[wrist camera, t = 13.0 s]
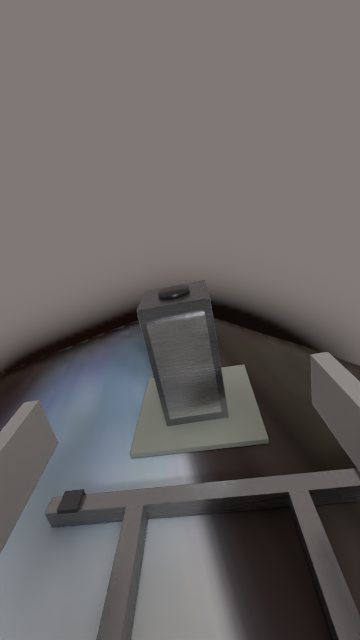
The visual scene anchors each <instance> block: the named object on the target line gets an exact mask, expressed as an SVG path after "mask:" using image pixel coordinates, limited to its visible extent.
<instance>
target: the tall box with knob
mask: <svg viewBox="0 0 360 640" xmlns="http://www.w3.org/2000/svg"><path fill="white" fill-rule="evenodd" d="M137 314H138V318H139V322H140V326H141V330H142V333H143V337H144V341H145V345H146V349H147V353H148V356H149V360H150V364H151V368H152V372H153V375H154V379H155V383H156V387H157V391H158V395H159V398H160V402H161V406H162V410H163V414H164V418H165V421H166V425H167V426H174V425H180V424H187V423H194V422H201V421H208V420H215V419H222V418H229V415H228V408H227V402H226V396H225V389H224V383H223V377H222V371H221V364H220V358H219V352H218V345H217V339H216V333H215V327H214V320H213V314H212V308H211V301H210V296H209V293H208V290H207V287H206V283H205V281H204V280H203V281H198V282H193V283H188V284H182V285H176V286H171V287H165V288H160V289H154V290H149V291H146V292H145V294H144V296H143V298H142V300H141V302H140V305H139V307H138V309H137Z"/></svg>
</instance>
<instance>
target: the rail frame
mask: <svg viewBox="0 0 360 640" xmlns="http://www.w3.org/2000/svg"><path fill="white" fill-rule="evenodd" d="M354 467H355V468H353V469H343V470H332V471H322V472H312V473H301V474H291V475H280V476H270V477H260V478H249V479H239V480H229V481H218V482H208V483H198V484H187V485H177V486H167V487H156V488H146V489H136V490H125V491H115V492H104V493H94V494H85V492H84V489H83V490H73V491H65V493H64V495H63V497H53V498H52V500H51V502H50V504H49V506H48V508H47V510H46V512H45V516H46V517H47V519H48V521H49V523H50V525H51V527H60V526H72V525H84V524H96V523H108V522H120V521H123V524H122V528H121V532H120V537H119V541H118V546H117V550H116V555H115V559H114V563H113V568H112V572H111V577H110V581H109V586H108V590H107V595H106V599H105V603H104V608H103V612H102V617H101V621H100V626H99V630H98V635H97V639H96V640H131V634H132V627H133V621H134V614H135V607H136V600H137V593H138V586H139V579H140V572H141V565H142V559H143V552H144V545H145V538H146V531H147V524H148V519H155V518H167V517H179V516H191V515H203V514H215V513H227V512H238V511H250V510H262V509H274V508H286V507H290V509H291V513H292V516H293V519H294V522H295V525H296V528H297V531H298V534H299V537H300V540H301V543H302V546H303V549H304V553H305V556H306V559H307V562H308V565H309V568H310V571H311V574H312V577H313V580H314V583H315V586H316V589H317V592H318V596H319V599H320V602H321V605H322V608H323V611H324V614H325V617H326V620H327V623H328V626H329V629H330V632H331V636H332V639H333V640H360V616H359V613H358V611H357V608H356V606H355V603H354V601H353V599H352V596H351V594H350V591H349V589H348V586H347V584H346V581H345V579H344V577H343V574H342V572H341V569H340V567H339V564H338V562H337V560H336V557H335V555H334V552H333V550H332V547H331V545H330V542H329V540H328V538H327V535H326V533H325V530H324V528H323V525H322V523H321V521H320V518H319V516H318V513H317V511H316V508H315V506H314V505H322V504H333V503H345V502H357V501H360V472H359V470H358V469H357V467H356V466H355V464H354Z"/></svg>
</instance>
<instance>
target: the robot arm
mask: <svg viewBox="0 0 360 640" xmlns="http://www.w3.org/2000/svg"><path fill="white" fill-rule="evenodd" d="M311 384H312V404H313V406H314V407H315V409H316V410H317V411H318V413H319V414H320V416H321V417H322V419H323V420H324V421H325V423H326V424H327V426H328V427H329V429H330V430H331V431H332V433H333V434H334V436H335V437H336V439H337V440H338V441H339V443H340V444H341V446H342V447H343V449H344V450H345V451H346V453H347V454H348V456H349V457H350V459H351V460H352V461H353V463H354V464H355V466H356V467H357V469H358V470H359V472H360V382H359V381H358V380H357V379H356V378H355V377H354V376H353V375H352V374H351V373H350V372H349V371H348V370H347V369H345V368H344V367H343V366H342V365H341V364H340V363H339V362H338V361H337V360H336V359H335V358H334V357H333V356H332V355H330V354H329V353H328V352H324V353H318V354H312V355H311ZM57 444H58V441H57V439H56V437H55V435H54V433H53V430H52V428H51V426H50V424H49V421H48V419H47V417H46V415H45V413H44V410H43V408H42V406H41V404H40V401H39V400H37V401H31V402H25V403H23V405H22V406H21V407H20V408H19V409H18V411H17V412H16V413H15V414H14V416H13V417H12V418H11V419H10V420H9V422H8V423H7V424H6V425H5V427H4V428H3V429H2V430H1V431H0V553H1V551H2V549H3V547H4V545H5V544H6V542H7V540H8V538H9V536H10V534H11V532H12V530H13V528H14V526H15V524H16V523H17V521H18V519H19V517H20V515H21V513H22V511H23V509H24V507H25V505H26V504H27V502H28V500H29V498H30V496H31V494H32V492H33V490H34V488H35V486H36V484H37V483H38V481H39V479H40V477H41V475H42V473H43V471H44V469H45V467H46V465H47V463H48V462H49V460H50V458H51V456H52V454H53V452H54V450H55V448H56V446H57Z"/></svg>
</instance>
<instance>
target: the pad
mask: <svg viewBox="0 0 360 640" xmlns="http://www.w3.org/2000/svg"><path fill="white" fill-rule="evenodd" d="M221 371H222V377H223V383H224V389H225V396H226V402H227V408H228V415H229V418H222V419H215V420H208V421H201V422H194V423H187V424H180V425H174V426H167V425H166V421H165V418H164V414H163V410H162V406H161V402H160V398H159V395H158V391H157V387H156V383H155V379H154V377H152V378H149V382H148V386H147V390H146V393H145V397H144V401H143V405H142V409H141V413H140V417H139V420H138V424H137V428H136V432H135V436H134V440H133V444H132V447H131V451H130V457H131V458H139V457H148V456H157V455H167V454H176V453H185V452H194V451H203V450H212V449H221V448H231V447H240V446H249V445H258V444H267V443H269V439H268V436H267V433H266V430H265V427H264V424H263V421H262V418H261V415H260V411H259V408H258V405H257V402H256V399H255V396H254V393H253V390H252V387H251V384H250V381H249V378H248V375H247V372H246V369H245V366H244V365H237V366H230V367H223V368H221Z"/></svg>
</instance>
